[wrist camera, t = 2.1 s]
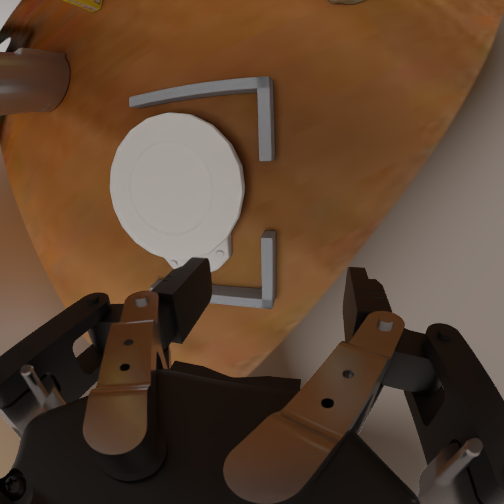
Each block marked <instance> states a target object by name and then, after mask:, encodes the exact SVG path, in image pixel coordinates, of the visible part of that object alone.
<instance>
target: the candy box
mask: <svg viewBox="0 0 504 504" xmlns="http://www.w3.org/2000/svg"><path fill="white" fill-rule="evenodd" d="M63 1H66V2H68V3H71V4H74V5H76V6H79V7H81V8H84V9H86V10H88V11H91V12H95V11H98V10H100V9H101V5H102V1H103V0H63Z"/></svg>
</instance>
